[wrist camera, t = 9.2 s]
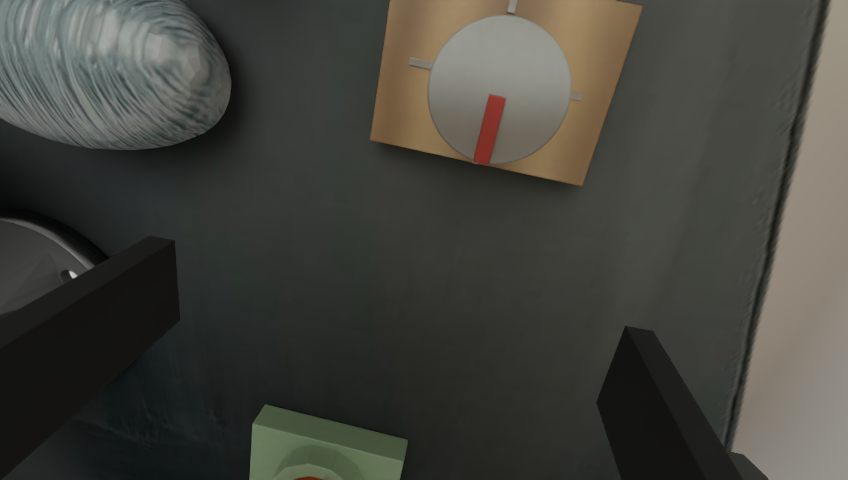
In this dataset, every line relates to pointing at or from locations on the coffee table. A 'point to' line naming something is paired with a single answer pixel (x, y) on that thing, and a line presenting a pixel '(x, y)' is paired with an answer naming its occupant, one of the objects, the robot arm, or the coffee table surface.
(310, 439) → the button block
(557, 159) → the panel
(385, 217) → the coffee table surface
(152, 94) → the spool
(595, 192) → the coffee table surface
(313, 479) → the button
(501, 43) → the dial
